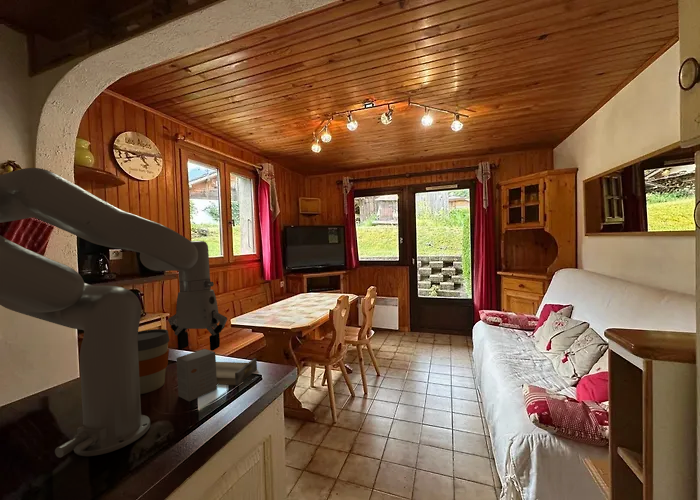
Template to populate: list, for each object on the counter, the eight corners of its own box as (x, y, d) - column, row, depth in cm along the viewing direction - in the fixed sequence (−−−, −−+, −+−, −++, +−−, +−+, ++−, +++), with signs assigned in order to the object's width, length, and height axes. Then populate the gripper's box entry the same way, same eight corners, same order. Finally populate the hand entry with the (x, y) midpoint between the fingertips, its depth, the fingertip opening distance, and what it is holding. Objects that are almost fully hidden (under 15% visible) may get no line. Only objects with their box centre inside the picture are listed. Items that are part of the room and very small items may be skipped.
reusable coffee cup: (129, 381, 90) (127, 331, 90) (176, 374, 94) (174, 327, 94) (109, 401, 78) (106, 344, 78) (163, 393, 82) (161, 338, 81)
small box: (206, 384, 86) (205, 348, 86) (217, 389, 83) (216, 351, 83) (177, 396, 79) (175, 357, 79) (188, 402, 76) (186, 361, 76)
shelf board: (238, 385, 85) (238, 373, 84) (185, 382, 88) (185, 370, 88) (257, 369, 95) (257, 358, 95) (209, 367, 98) (209, 357, 98)
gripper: (232, 283, 84) (235, 344, 84) (177, 284, 87) (181, 343, 87) (215, 287, 76) (219, 354, 77) (156, 289, 79) (160, 352, 80)
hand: (199, 348), depth 82 cm, fingers open, 9 cm apart
